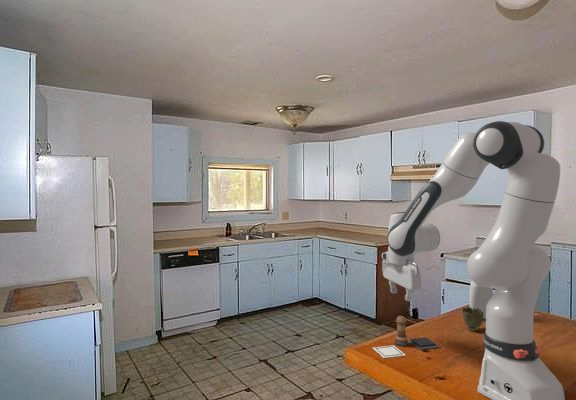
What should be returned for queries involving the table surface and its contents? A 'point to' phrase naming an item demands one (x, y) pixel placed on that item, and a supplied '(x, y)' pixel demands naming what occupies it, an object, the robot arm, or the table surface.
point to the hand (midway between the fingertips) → (400, 296)
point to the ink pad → (423, 343)
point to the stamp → (401, 332)
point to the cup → (473, 318)
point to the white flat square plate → (389, 351)
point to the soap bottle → (479, 297)
